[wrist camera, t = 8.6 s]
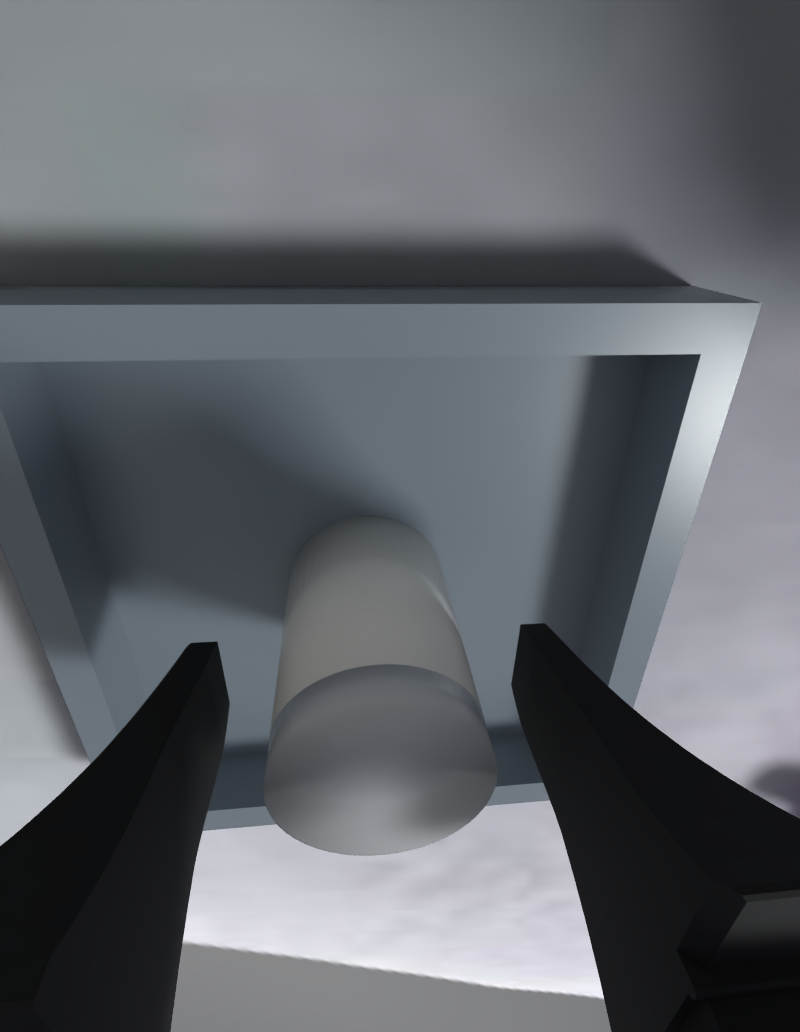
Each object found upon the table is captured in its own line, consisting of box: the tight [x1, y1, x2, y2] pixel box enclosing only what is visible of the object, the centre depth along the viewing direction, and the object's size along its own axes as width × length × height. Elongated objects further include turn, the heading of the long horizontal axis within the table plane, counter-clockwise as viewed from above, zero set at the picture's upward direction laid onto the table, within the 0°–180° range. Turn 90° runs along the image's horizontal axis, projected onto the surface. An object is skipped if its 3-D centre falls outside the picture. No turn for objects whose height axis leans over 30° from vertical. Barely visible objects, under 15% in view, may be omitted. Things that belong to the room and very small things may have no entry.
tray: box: [0, 286, 762, 831], centre depth 15 cm, size 16×16×2 cm
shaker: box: [263, 516, 498, 856], centre depth 13 cm, size 4×4×6 cm
